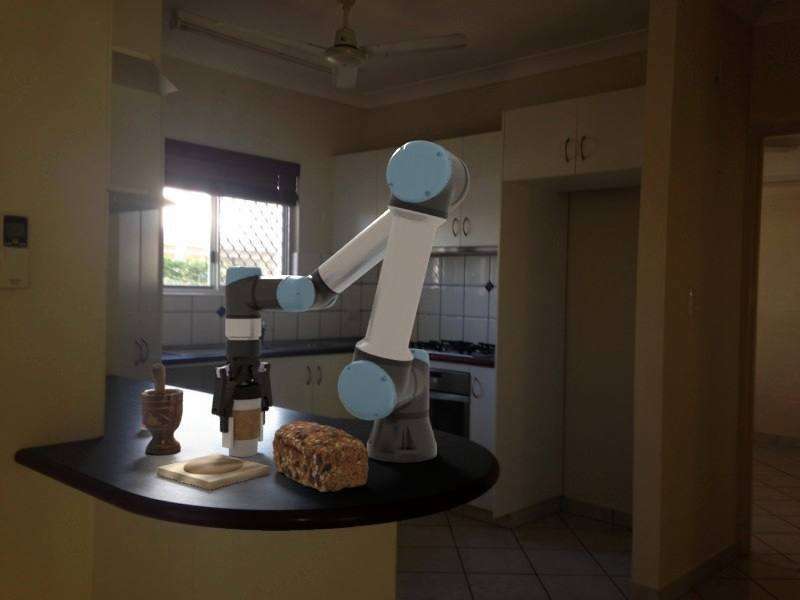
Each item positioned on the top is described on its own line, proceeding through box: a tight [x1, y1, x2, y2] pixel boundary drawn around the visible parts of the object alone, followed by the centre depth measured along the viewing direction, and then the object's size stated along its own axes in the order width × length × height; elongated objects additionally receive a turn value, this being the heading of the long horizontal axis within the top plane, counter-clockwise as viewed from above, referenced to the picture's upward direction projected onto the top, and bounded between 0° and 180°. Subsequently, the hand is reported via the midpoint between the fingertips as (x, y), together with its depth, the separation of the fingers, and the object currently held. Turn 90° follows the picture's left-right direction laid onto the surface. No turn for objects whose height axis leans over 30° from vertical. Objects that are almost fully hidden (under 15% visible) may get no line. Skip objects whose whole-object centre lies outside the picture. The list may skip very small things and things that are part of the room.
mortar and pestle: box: [140, 362, 184, 456], centre depth 149 cm, size 12×9×20 cm
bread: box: [272, 420, 369, 493], centre depth 131 cm, size 19×11×10 cm, turn 38°
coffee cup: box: [227, 383, 263, 458], centre depth 149 cm, size 8×8×15 cm
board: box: [156, 452, 270, 491], centre depth 133 cm, size 16×14×2 cm
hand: (243, 443), depth 149 cm, fingers closed on coffee cup, 7 cm apart
